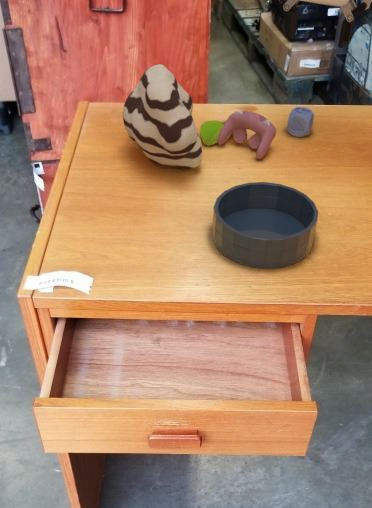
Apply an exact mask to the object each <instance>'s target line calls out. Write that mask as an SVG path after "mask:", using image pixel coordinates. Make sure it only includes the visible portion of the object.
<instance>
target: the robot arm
mask: <svg viewBox="0 0 372 508" xmlns="http://www.w3.org/2000/svg"><path fill="white" fill-rule="evenodd" d="M279 1H280V4H282V8H283V10H284V12H285V14H284V25H283V30H284V31H285V32H284V33H285V34H284V38H286V39H289V38H291V37H292V36H293V35H295V34H296V32H297V27H298V17H299V6H297V4H299V2H300V1H301V2H306V3H312V4H318V5H325V6H330V7H331V6H332V7H339V8H340V10H341V11H342V14H343V15H344V20H343V21H342V22H341V26H340V33H339V38H338V43H337V46H338V48H339V49H343V48H344V47H346V45H348V44H349V43H350V42H351V41H352V38H353V33H354V28H355V24H356V23H355V22H356V18H357V17H358V16H360V15H361V14H363V12H364V11H366V10H367V9H368V8H369V7H370V5H371V3H372V0H361V2H359V4H358V5H357V4H356V2H355V0H279Z"/></svg>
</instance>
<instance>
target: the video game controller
mask: <svg viewBox="0 0 372 508" xmlns="http://www.w3.org/2000/svg"><path fill="white" fill-rule="evenodd" d="M225 121H226V122H225ZM225 121H224V122H225V124H224V126H223V127H222V129H221V131H220V133H219V135H218V142H217V144H218V145H220V146H221V145H223V144H224V143H226V142H227V141H228V140H229V138H230V137H231V136H232V135H231V134H232V133H234V134H233V139H234V142H236V143H237V144H245V143H246V142H247V140H248V146H249V147H250V148H251V149H254V150H256V159H257V160H261V159H263V158H264V157H265V156H266V154H267V152H268V151H269V150H270V147H271V145H272V142H273V140H274V139H275V137H276V135H277V128H276V126H275V124H274V123H272V122H271V121H270V120H269V119H268V118H267V117H265V116H264V115H262V114H260V113H257V112H255V111H249V110H235V111H234V112H233V113H231V114H229V116H228V117H227V119H226V120H225ZM247 130H249V131H252V132H254V134H252V135H251V136H250V138H249V139H248V132H247Z"/></svg>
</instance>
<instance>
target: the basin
mask: <svg viewBox="0 0 372 508" xmlns="http://www.w3.org/2000/svg"><path fill="white" fill-rule="evenodd" d="M212 213H213V214H212V215H213V217H212V241H213V243H214V246H215V248H216V249H217V250H218V251H219V252H220V253H221V254H222V255H223V256H224V257H226V258H227V259H228V260H230V261H233V262H234V263H236V264H239V265H242V266H245V267H249V268H257V269H265V270H267V269H268V270H269V269H280V268H284V267H289V266H292V265H294V264H296V263H299V262H300V261H302V260H303V259H305V257H306V256H307V255H308V254H309V253H310V251H311V250H312V247H313V243H314V239H315V233H316V230H317V229H316V228H317V223H318V217H319V210H318V208H317V206H316V203H315V202H314V201H313V200H312V199H311V198H310V197H309V196H308V195H307V194H306V193H304V192H302V191H300V190H299V189H296V188H294V187H291V186H288V185H284V184H281V183H277V182H276V183H274V182H269V181H268V182H266V181H262V182H261V181H259V182H258V181H257V182H246V183H242V184H238V185H234V186H232V187H230V188H228V189H226V190H224V191H223V192H222V193H221V194H220V195H219V196H218V197H217V198H216V199H215V202H214V205H213V212H212Z"/></svg>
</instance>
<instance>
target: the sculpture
mask: <svg viewBox="0 0 372 508" xmlns="http://www.w3.org/2000/svg"><path fill="white" fill-rule="evenodd" d="M193 110H194V101H193V99H192V96H191V95H190V94H189V92H187V91H186V90H185V89H184V88H183V87H182V85H181V84H180V83H179V82H178V81H177V79H176V77H175V75H174V74H173V72H172V71H170V70H169V69H168V68H167V67H166V66H165V64H161V63H159V64H154V65H151V66H150V67H149V68H147V69H146V70H145V71H144V72H143V73H142V75H141V77H140V79H139V82H138V83H137V84H136V85H135V87H134V88H133V89H132V91H131V92H130V93H129V94H128V96H127V98H126V100H125V102H124V104H123V108H122V121H123V125H124V129H125V131H126V133H127V135H128V137H129V138H130V140H132V141H133V142H135V143H136V144H137V147H138V148H139V149H140V150H141V151H142V152H143V154H144V155H145V157H146V158H147V159H148V160H149V162H151V163H152V164H153V165H155V166H157V167H176V168H178V169H181V170H185V171H190V170H191V171H192V170H194V169H196V168H198V167H199V166H200V165H201V163H202V160H203V147H202V142H201V141H202V140H201V138H200V136H199V134H198V131H197V127H196V123H195V120H194V117H193Z"/></svg>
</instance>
